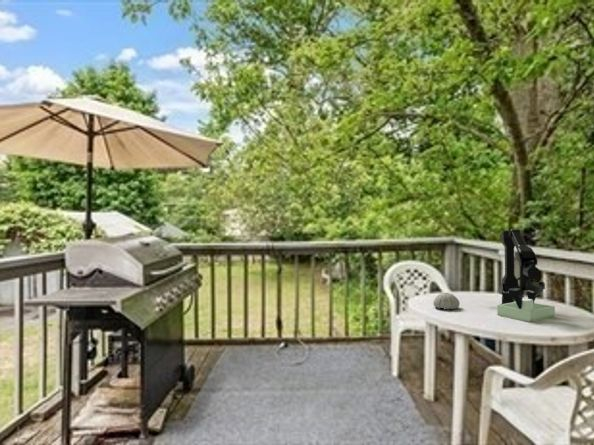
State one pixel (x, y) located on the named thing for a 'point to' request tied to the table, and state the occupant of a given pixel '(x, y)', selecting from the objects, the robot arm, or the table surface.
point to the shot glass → (527, 304)
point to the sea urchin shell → (446, 301)
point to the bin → (526, 312)
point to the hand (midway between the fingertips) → (525, 307)
